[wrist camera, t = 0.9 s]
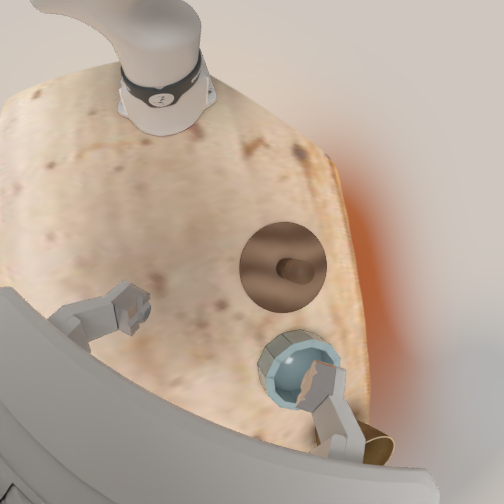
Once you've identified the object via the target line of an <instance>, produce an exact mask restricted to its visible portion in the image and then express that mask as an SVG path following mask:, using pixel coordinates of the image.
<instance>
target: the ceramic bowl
mask: <svg viewBox="0 0 504 504" xmlns="http://www.w3.org/2000/svg"><path fill="white" fill-rule="evenodd" d="M315 360H317V361H320V362H324V363H327V364H330V365H334V366H336V367H340V357H339V355H338V354H337V353H336V351H335V350H334V348H333V347H332V346H331V344H329V343H328V342H326V341H325V340H323V339H322V338H320V337H319V336H318V335H316V334H313V333H310V332H307V331H304V330H295V331H291V332H286V333H282V334H280V335H279V336H278V337H276V338H275V339H274V340H273V341H271V342H270V343H269V344H268V345H266V347H265V348H264V351H263V353H262V355H261V357H260V359H259V362H258V371H259V378H260V381H261V383H262V385H263V387H264V389H265V391H266V393H267V395H268V396H269V397H270V398H271V399H272V400H273V401H274V402H275V403H276V404H277V405H278V406H279V407H282V408H287V409H293V410H300V409H298V408H295V406H296V402H297V398H298V395H299V394H300V393H301V388H300V387H301V383H302V380H303V378H304V376H305V374H306V372H307V370H309V369H311V364H312V363H313V361H315Z"/></svg>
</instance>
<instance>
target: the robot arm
mask: <svg viewBox="0 0 504 504" xmlns="http://www.w3.org/2000/svg"><path fill="white" fill-rule="evenodd" d="M30 2H31V3H32V4H33V6H34V7H35V8H36V9H38V10H39V11H40V12H43V13H47V14H48V13H49V14H59V15H64V16H68V17H71V18H74V19H77V20H79V21H82V22H84V23H85V24H87V25H89V26H91V27H92V28H94V29H95V30H97V31H98V32H100V33H101V34H102V35H103V36H104V37H106V38H107V39H108V40H109V42H111V44H112V46H113V47H114V49H115V52H116V54H117V56H118V58H119V61H120V63H121V76H122V78H121V80H120V84H121V88H119V93H120V97H121V98H120V101H119V105H118V113H119V114H120V115H121V116H124V117H126V118H129V119H130V120H131V121H132V122H133V123H134V125H135V126H136V127H137V128H138V129H140V130H141V131H143V132H145V133H147V134H151V135H156V136H167V135H173V134H176V133H179V132H181V131H183V130H185V129H187V128H189V127H190V126H191V125H193V124H194V123H195V122H196V121H197V120H198V118H199V117H200V115H201V114H202V112H203V111H204V110H205V109H206V108H208V107H209V106H211V105H212V104H214V103H215V102H216V100H217V95H216V92H215V89H214V86H213V83H212V81H211V78H210V75H209V72H208V69H207V67H206V64H205V61H204V58H203V55H202V53H201V50H200V48H199V45H200V34H201V21H200V19H199V16H198V15H197V13H196V12H195V10H194V9H193V8H192V7H191V6H190V5H189V4H187V3H186V2H184V1H182V0H30ZM208 92H210V94H208ZM149 299H150V293H148V292H146V291H145V290H143V289H141V288H139V287H137V286H135V285H133V284H131V283H130V282H128V281H126V280H123V281H121V282H120V283H119V284H118V285H117V286H116V287H114V288H113V289H112V290H111V291H110V292H109V293H108V294H107V295H105V296H104V297H97V298H93V299H89V300H84V301H80V302H76V303H72V304H68V305H64V306H62V307H61V308H59V309H58V310H57V311H56V312H55V313H54V314H53V315H52V316H50V317H49V318H48V319H45V318H44V317H43V316H42V315H41V314H40V313H39V312H38V311H37V310H35V309H34V308H33V307H32V306H31V305H30V304H29V303H28V302H27V301H26V300H25V299H24V298H23V297H22V296H21V295H20V294H19V293H18V292H17V291H16V290H15V289H14V288H12V287H9V286H8V287H0V504H439V501H440V491H439V488H438V486H437V484H436V482H435V480H434V479H433V477H432V475H431V474H430V472H429V471H428V470H427V469H425V468H408V467H391V466H380V465H371V464H363V456H364V449H365V440H366V439H365V437H364V435H363V433H362V431H361V429H360V427H359V425H358V423H357V421H356V419H355V417H354V415H353V412H352V410H351V408H350V406H349V404H348V402H347V400H345V399H344V390H345V381H346V369H343V368H340V367H336V366H334V365H330V364H327V363H324V362H320V361H317V360H315V361H313V363H312V364H311V369H309V370H307V372H306V374H305V376H304V378H303V380H302V383H301V387H300V388H301V393H300V394H299V395H298V398H297V402H296V406H295V408H298V409H301V410H305V411H308V412H311V413H312V416H313V419H314V423H315V426H316V429H317V432H318V436H319V439H320V442H321V444H320V445H319V446H317V447H316V448H314V449H313V450H311V451H310V452H309V453H304V452H300V451H296V450H293V449H289V448H285V447H282V446H278V445H275V444H272V443H268V442H265V441H262V440H259V439H256V438H253V437H250V436H247V435H245V434H242V433H239V432H236V431H234V430H231V429H229V428H226V427H223V426H221V425H218V424H216V423H214V422H211V421H209V420H207V419H204V418H202V417H200V416H198V415H195V414H193V413H191V412H189V411H187V410H185V409H183V408H181V407H178V406H176V405H174V404H172V403H170V402H169V401H167V400H165V399H163V398H161V397H159V396H157V395H155V394H153V393H152V392H150V391H148V390H146V389H144V388H143V387H141V386H139V385H138V384H136V383H134V382H132V381H131V380H129V379H128V378H126V377H124V376H123V375H121V374H119V373H118V372H116V371H115V370H113V369H112V368H110V367H109V366H107V365H106V364H104V363H103V362H101V361H100V360H98V359H97V358H95V357H94V356H93V355H91V354H90V353H91V349H90V346H89V344H88V342H90V341H92V340H95V339H97V338H99V337H102V336H104V335H107V334H109V333H112V332H114V331H117V330H118V329H119V330H121V331H123V332H124V333H126V334H128V335H130V336H132V335H133V334H134V333H135V332H136V331H137V330H138V328H139V323H143V322H145V320H146V319H147V318H148V316H149V314H150V310H151V305H150V303H149V302H148V300H149Z"/></svg>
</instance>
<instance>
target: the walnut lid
mask: <svg viewBox="0 0 504 504" xmlns="http://www.w3.org/2000/svg"><path fill="white" fill-rule="evenodd" d="M326 271H327V261H326V255H325V252H324V249H323V247H322V245H321V243H320V241H319V240H318V239H317V237H316V236H315V235H314V234H313V233H312V232H311V231H309V230H308V229H307V228H305V227H303V226H301V225H298V224H295V223H289V222H280V223H275V224H271V225H268V226H266V227H264V228H262V229H261V230H259V231H258V232H256V233H255V234H254V235H253V236H252V237H251V238H250V240H249V241H248V242H247V244H246V246H245V248H244V250H243V252H242V255H241V260H240V277H241V282H242V284H243V287H244V289H245V291H246V293H247V294H248V295H249V297H250V298H251V299H252V300H253V301H254V302H255V303H256V304H257V305H259V306H260V307H262V308H264V309H266V310H268V311H272V312H276V313H288V312H293V311H297V310H299V309H301V308H303V307H305V306H306V305H308V304H309V303H310V302H311V301H312V300H313V299H314V298H315V297H316V296H317V295H318V293H319V292H320V290H321V288H322V286H323V284H324V281H325V277H326Z"/></svg>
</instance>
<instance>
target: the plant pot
mask: <svg viewBox="0 0 504 504" xmlns="http://www.w3.org/2000/svg"><path fill="white" fill-rule="evenodd" d="M356 421H357V423H358V425H359V427H360V429H361V431H362V433H363V435H364V437H365V439H366V440H365V449H364V456H363V464H371V465H380V466H385V465H386V463H387V462H388V461H389V459H390V457H391V456H392V454H393V451H394V448H395V443H394V440H393V439H392V438H391V437H389V436H388V435H386V434H384V433H382V432H380V431H379V430H377V429H375V428H373V427H371V426H369V425H367V424H365V423H362V422H360V421H358V420H356ZM316 439H317V446H319V445H320V444H321V442H320V439H319V436H318V432H317V429H316Z"/></svg>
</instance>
